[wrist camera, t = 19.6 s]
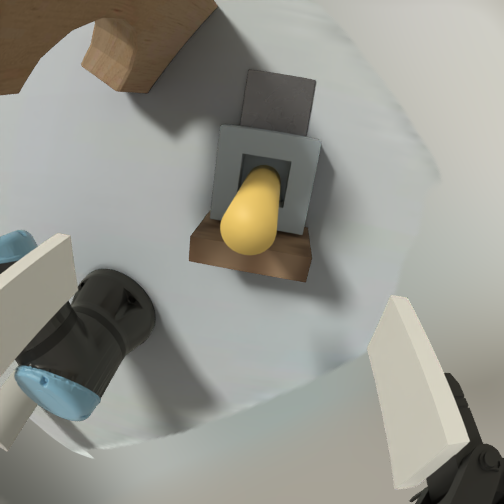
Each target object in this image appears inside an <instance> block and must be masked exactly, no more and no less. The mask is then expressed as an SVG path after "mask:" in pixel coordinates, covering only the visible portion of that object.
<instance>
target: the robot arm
mask: <svg viewBox="0 0 504 504" xmlns="http://www.w3.org/2000/svg"><path fill="white" fill-rule="evenodd" d="M74 294H75V295H74ZM73 295H74V298H73V300H72V303H71V304H70V303H69V301H68V300H69V299H70V298H71V297H72V296H73ZM154 325H155V312H154V308H153V305H152V303H151V301H150V299H149V297H148V296H147V294H146V293H145V292H144V290H143V289H142V288H141V287H140V286H139V285H138V284H137V283H136V282H135V281H133V280H132V279H131V278H129V277H128V276H126V275H124V274H122V273H120V272H118V271H114V270H110V269H98V270H95V271H93V272H91V273H89V274H88V275H87V276H86V277H85V278H84V279H83V280H82V281H81V282H80V284H79V286H77V280H76V273H75V267H74V260H73V252H72V244H71V236H70V235H65V234H60V233H57V234H56V235H54V236H53V237H51V238H50V239H48V240H47V241H45V242H44V243H42V244H41V245H39V246H37V244H36V242H35V240H34V238H33V236H32V235H31V234H30V233H29V232H27V231H25V230H17V231H14V232H11V233H8V234H6V235H3V236H1V237H0V377H1V376H2V374H3V373H4V372H5V371H6V369H7V368H8V367H9V366H10V365H11V363H12V362H13V361H14V360H16V362H17V363H18V365H19V366H18V367H17V368H16V370H15V374H14V378H15V380H16V381H17V384H18V386H19V387H20V389H21V390H22V391H23V392H24V393H25V394H26V395H27V396H28V397H29V398H30V399H32V400H33V401H34V402H35V403H37V404H38V405H39V406H41V407H42V408H44V409H45V410H47V411H49V412H51V413H52V414H54V415H56V416H59V417H61V418H64V419H67V420H71V421H83V420H85V419H87V418H88V417H89V416H90V415H91V413H92V412H93V410H94V409H95V408H96V406H97V405H98V404H99V403H100V401H101V397H102V396H103V394H104V392H105V390H106V388H107V387H108V385H109V383H110V381H111V380H112V378H113V376H114V374H115V372H116V371H117V369H118V367H119V366H120V364H121V362H122V360H123V359H124V357H125V356H126V355H127V354H128V353H130V352H131V351H133V350H134V349H135V348H136V347H138V346H139V345H141V344H142V343H144V342H145V341H146V340H147V338H148V337H149V335H150V333H151V332H152V330H153V328H154ZM367 350H368V354H369V358H370V362H371V367H372V371H373V375H374V380H375V384H376V388H377V393H378V398H379V402H380V406H381V412H382V417H383V422H384V427H385V432H386V437H387V443H388V449H389V455H390V461H391V468H392V474H393V482H394V489H395V490H397V489H405V488H412V487H416V486H417V485H419V484H420V483H422V482H423V481H424V480H425V479H426V480H427V485H428V487H426V488H425V489H424V490H422V491H421V492H419V493H418V494H416V495H415V496H413V497H412V498H411V500H410V502H413V501H414V500H416V499H418V500H417V502H416V503H415V504H504V458H502V457H501V455H500V453H499V452H498V450H497V449H496V448H494V447H493V446H491V445H489V444H483V442H482V440H481V437H480V434H479V432H478V429H477V426H476V424H475V421H474V418H473V416H472V413H471V411H470V408H468V403H467V401H466V399H465V398H464V394H463V391H462V389H461V387H460V385H459V383H458V382H457V381H456V380H455V378H454V377H453V376H452V375H451V374H450V373H443V370H442V368H441V366H440V363H439V361H438V359H437V357H436V355H435V352H434V350H433V348H432V346H431V344H430V342H429V340H428V338H427V336H426V333H425V331H424V329H423V327H422V325H421V323H420V321H419V319H418V317H417V315H416V313H415V311H414V309H413V307H412V305H411V304H410V302H409V300H408V298H406V297H400V296H393V295H391V296H390V298H389V301H388V303H387V305H386V308H385V310H384V312H383V315H382V317H381V319H380V321H379V324H378V326H377V328H376V330H375V332H374V334H373V337H372V339H371V341H370V343H369V345H368V347H367Z"/></svg>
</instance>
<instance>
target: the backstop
mask: <svg viewBox="0 0 504 504" xmlns="http://www.w3.org/2000/svg"><path fill="white" fill-rule="evenodd" d="M210 212H211V210H210V211H209V213H208V214H207V215H206V216H205V218H204V219H203V220H202V222H201V223H200V224H199V226H198V227H197V228H196V230H195V231H194V232H193V233H192V235H191V236H190V251H189V261H191V262H197V263H202V264H207V265H212V266H218V267H223V268H228V269H234V270H239V271H245V272H250V273H256V274H261V275H267V276H272V277H278V278H283V279H289V280H295V281H300V282H306V279H307V276H308V272H309V268H310V264H311V260H312V254H311V247H310V240H309V233H308V228H307V227H304V230H303V235H299V234H294V233H289V232H283V231H278V230H277V232H276V237H275V240H274V242H273V244H272V245H271V246H270V247H269V248H268V249H267V250H266V251H264V252H262V253H260V254H256V255H243V254H239V253H237V252H235V251H233V250H232V249H231V248H229V247H228V246H227V245H226V243H225V242H224V240H223V238H222V235H221V231H220V225H221V220H215V219H210Z"/></svg>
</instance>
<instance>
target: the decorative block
mask: <svg viewBox="0 0 504 504" xmlns="http://www.w3.org/2000/svg"><path fill="white" fill-rule="evenodd" d="M217 7H218V6H217V4H216V3H215V1H214V0H0V95H7V94H18V93H19V92H20V90H21V89H22V87H23V85H24V83H25V82H26V80H27V79H28V77H29V75H30V74H31V72H32V70H33V69H34V67H35V66H36V64H37V63H38V61H39V60H40V58H41V57H43V56H44V55H45V54H46V53H47V52H48V51H49V50H50V49H51V48H52V47H53V46H55V45H56V44H57V43H58V42H59V41H60V40H61V39H63V38H64V37H65V36H66V35H67V34H69V33H70V32H71V31H72V30H74V29H77V28H79V27H81V26H84V25H86V24H88V23H91V22H93V21H95V26H94V31H93V36H92V41H91V45H90V47H89V49H88V51H87V53H86V55H85V57H84V59H83V61H82V63H81V65H82V67H83V68H85V69H86V70H88V71H89V72H90V73H92V74H93V75H95V76H96V77H97V78H99V79H100V80H102V81H103V82H104V83H106V84H107V85H108V86H110V87H111V88H113V89H114V90H115V91H119V92H135V93H148V91H149V90H150V89H151V87H152V86H153V84H154V83H155V82H156V80H157V79H158V78H159V76H160V75H161V73H162V72H163V71H164V69H165V68H166V67H167V66H168V64H169V63H170V62H171V60H172V59H173V58H174V57H175V55H176V54H177V53H178V52H179V50H180V49H181V48H182V47H183V45H184V44H185V43H186V42H187V41H188V39H189V38H190V37H191V36H192V35H193V34H194V32H195V31H196V30H197V29H198V28H199V27H200V25H201V24H202V23H203V22H204V21H205V20H206V19H207V18H208V17H209V16H210V14H211V13H212V12H213V11H214V10H215V9H216V8H217Z"/></svg>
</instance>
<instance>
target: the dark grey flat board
mask: <svg viewBox="0 0 504 504" xmlns="http://www.w3.org/2000/svg"><path fill="white" fill-rule="evenodd" d="M314 86H315V80H312V79H307V78H302V77H296V76H290V75H284V74H278V73H271V72H264V71H256V70H248V77H247V83H246V90H245V96H244V103H243V110H242V116H241V123H240V126H245V127H252V128H259V129H266V130H272V131H278V132H284V133H289V134H295V135H300V136H305V137H306V132H307V127H308V121H309V115H310V109H311V104H312V98H313V92H314Z"/></svg>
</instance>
